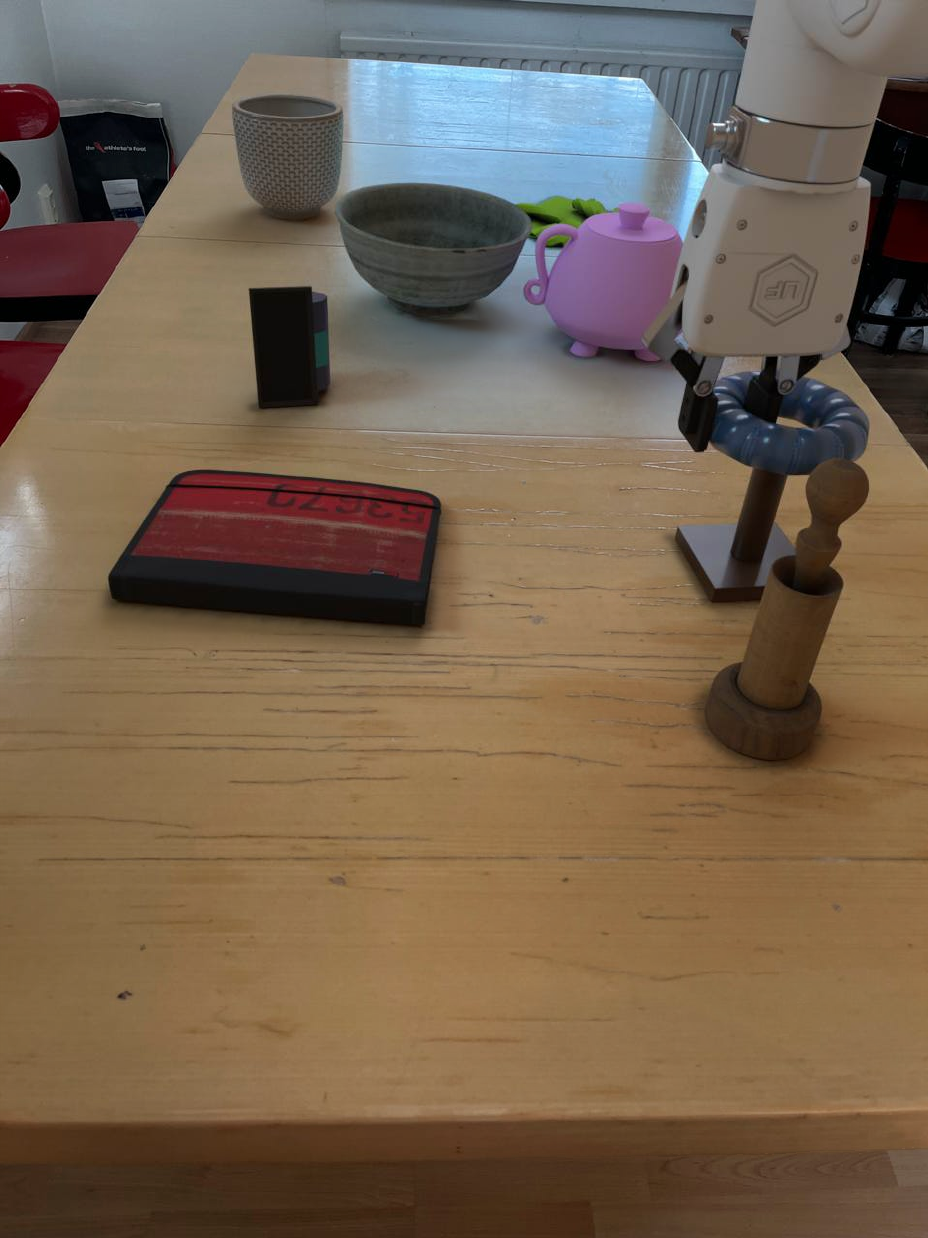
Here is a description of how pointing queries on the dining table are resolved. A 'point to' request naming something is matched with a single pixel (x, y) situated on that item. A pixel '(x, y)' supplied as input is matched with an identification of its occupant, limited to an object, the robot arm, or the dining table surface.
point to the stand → (739, 543)
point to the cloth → (560, 215)
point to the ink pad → (284, 547)
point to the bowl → (431, 243)
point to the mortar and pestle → (789, 630)
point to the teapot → (608, 278)
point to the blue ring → (788, 427)
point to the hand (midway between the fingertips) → (722, 438)
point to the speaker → (290, 345)
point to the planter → (289, 151)
